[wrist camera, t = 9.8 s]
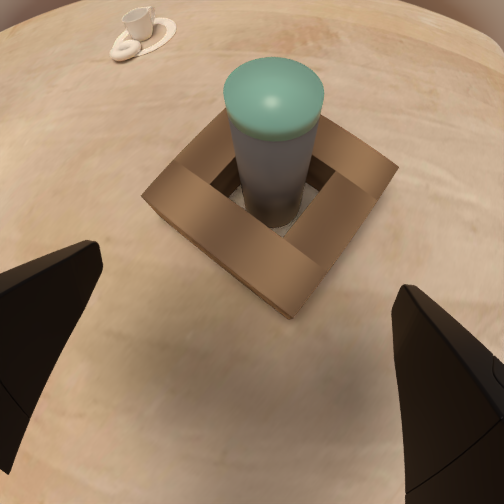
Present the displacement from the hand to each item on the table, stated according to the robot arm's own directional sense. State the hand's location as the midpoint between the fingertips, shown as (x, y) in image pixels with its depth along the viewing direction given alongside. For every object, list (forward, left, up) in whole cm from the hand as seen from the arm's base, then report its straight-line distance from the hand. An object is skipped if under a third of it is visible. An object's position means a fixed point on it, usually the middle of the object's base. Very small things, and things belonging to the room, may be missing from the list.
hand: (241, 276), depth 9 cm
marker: (+4, -7, -13) cm, 15 cm away
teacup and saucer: (+31, -13, -14) cm, 36 cm away
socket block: (+4, -7, -13) cm, 15 cm away
